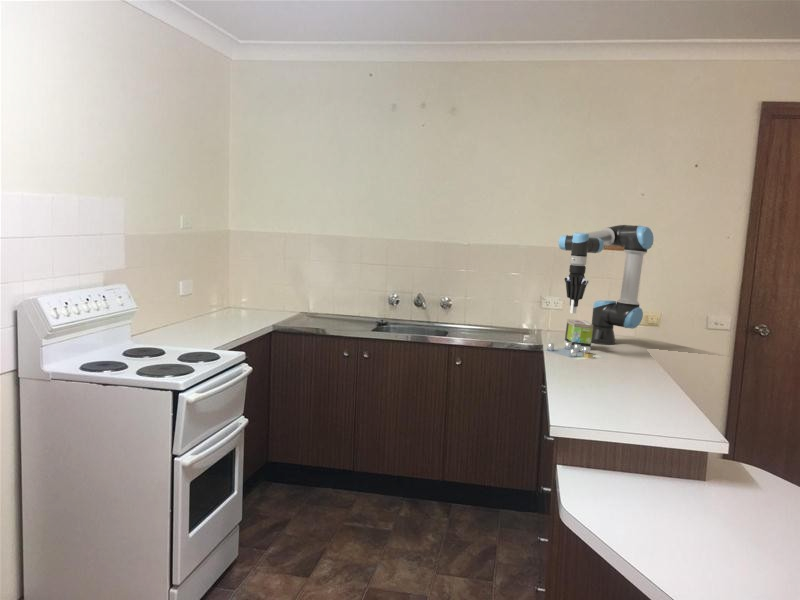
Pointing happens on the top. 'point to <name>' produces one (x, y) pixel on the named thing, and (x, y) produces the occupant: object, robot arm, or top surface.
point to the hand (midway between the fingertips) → (573, 313)
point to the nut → (587, 355)
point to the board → (567, 353)
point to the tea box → (579, 333)
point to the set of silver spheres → (568, 347)
